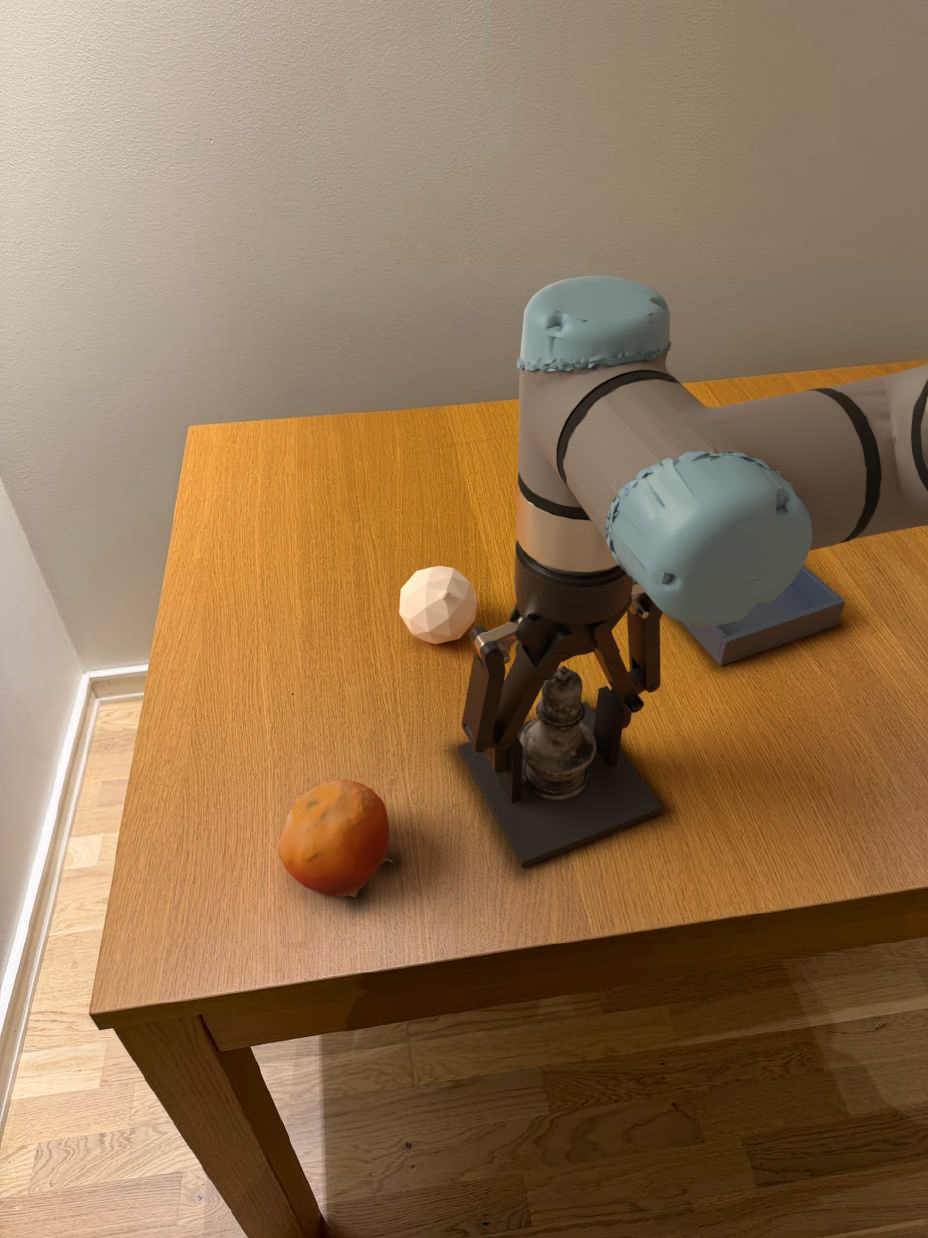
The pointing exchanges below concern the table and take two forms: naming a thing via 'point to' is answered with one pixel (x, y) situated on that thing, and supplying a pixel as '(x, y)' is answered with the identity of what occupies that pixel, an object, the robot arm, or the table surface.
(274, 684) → the table surface
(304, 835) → the fruit
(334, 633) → the table surface
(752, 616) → the tray
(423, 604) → the ornament
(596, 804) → the mat
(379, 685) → the table surface
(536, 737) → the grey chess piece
